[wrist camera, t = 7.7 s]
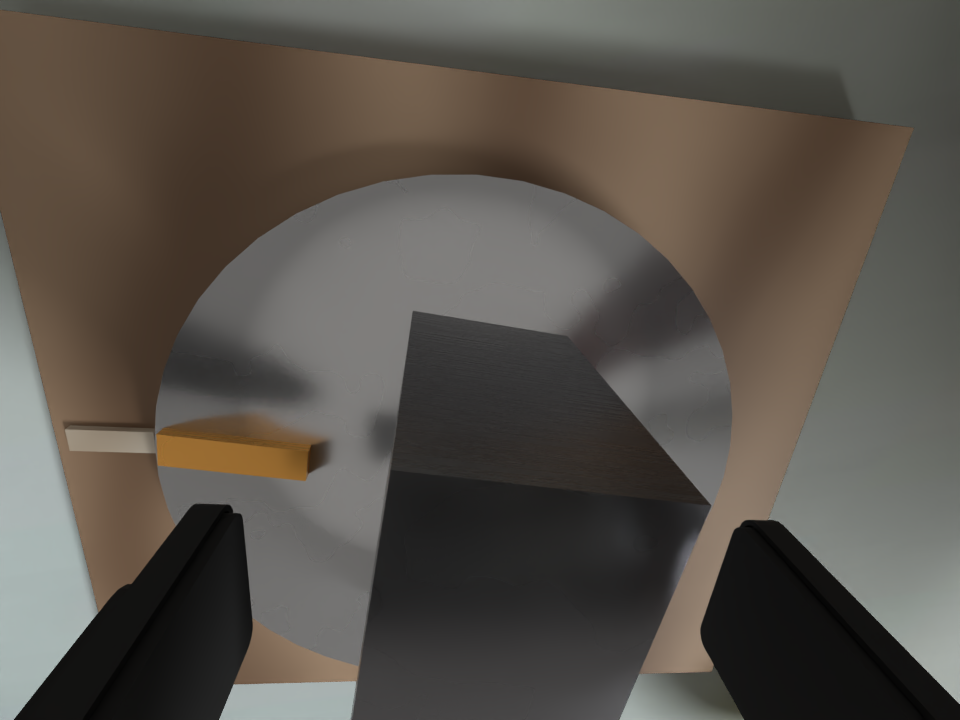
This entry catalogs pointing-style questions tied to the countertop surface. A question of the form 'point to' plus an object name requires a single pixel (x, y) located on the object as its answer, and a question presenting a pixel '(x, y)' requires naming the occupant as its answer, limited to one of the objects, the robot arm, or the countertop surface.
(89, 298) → the dial base
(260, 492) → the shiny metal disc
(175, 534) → the robot arm
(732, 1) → the countertop surface
